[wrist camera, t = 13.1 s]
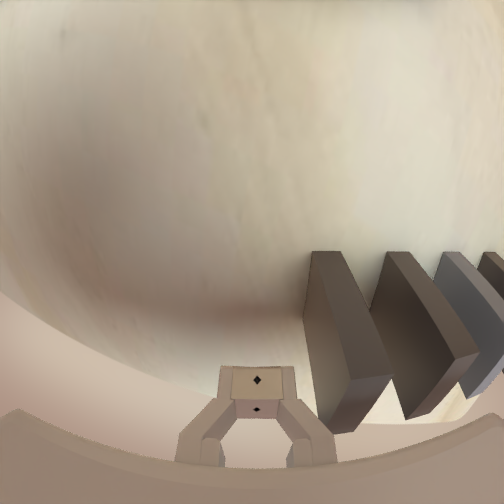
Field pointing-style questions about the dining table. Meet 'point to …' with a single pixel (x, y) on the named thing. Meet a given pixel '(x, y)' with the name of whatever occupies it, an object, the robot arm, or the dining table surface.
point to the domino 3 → (474, 318)
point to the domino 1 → (342, 345)
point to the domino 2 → (419, 335)
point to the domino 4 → (493, 272)
